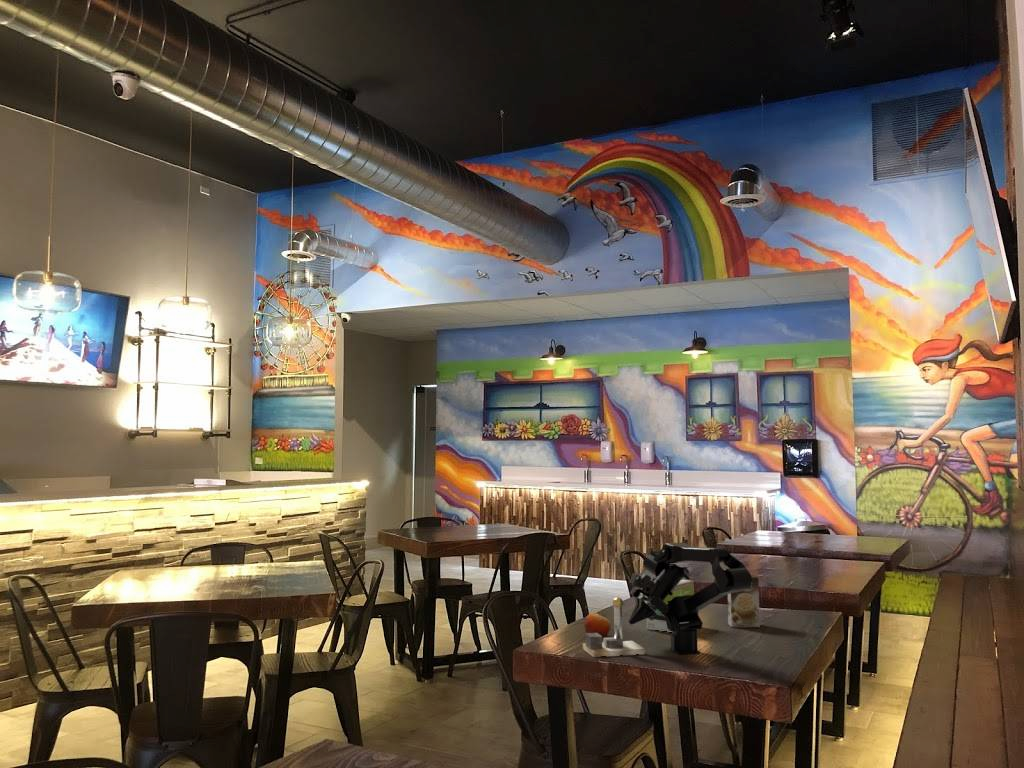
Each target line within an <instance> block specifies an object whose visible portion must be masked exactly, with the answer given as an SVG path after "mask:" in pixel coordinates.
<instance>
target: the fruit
mask: <svg viewBox="0 0 1024 768" xmlns="http://www.w3.org/2000/svg"><path fill="white" fill-rule="evenodd" d="M611 625H612V624H611V621H609V619H608V618H606V617H604V616H603V615H601V614H599V613H596V612H595V613H589V614H588V615H587V616H586V618H585V620H584V630H585V633H598V634H599V635H601V636H602V639H603V638H604V637H607V636H608V634H609V632H610V630H611V627H612V626H611Z"/></svg>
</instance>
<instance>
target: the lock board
mask: <svg viewBox="0 0 1024 768" xmlns="http://www.w3.org/2000/svg"><path fill="white" fill-rule="evenodd" d="M584 635H585V637H584V638H585V643H582V650H584V651H585V652H587V654H589V655H590V656H592V657H593V658H601V656H606V657H620V655H623V656H635V655H636V654H639V655H646V648H645V647H643V646H642V645H640V644H638V643H636V642H635V641H633V640H625V641H624V640H623V639H622V640H608V647H605V646H603V638H602V636H601V635H599V634H598V633H586V632H585V633H584ZM604 638H614V636H606V637H604Z"/></svg>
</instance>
